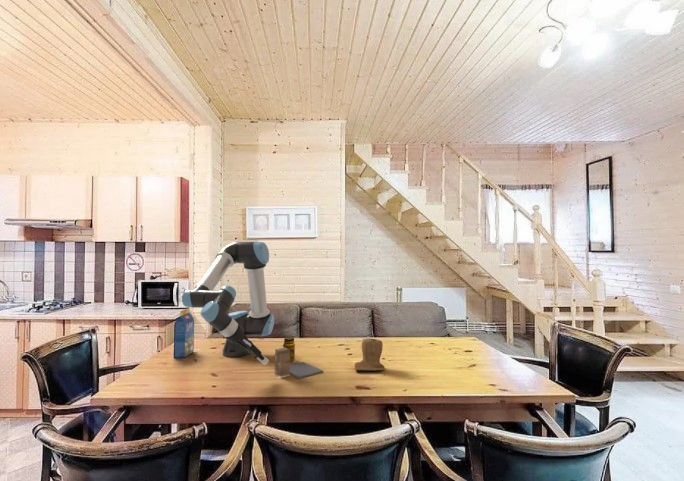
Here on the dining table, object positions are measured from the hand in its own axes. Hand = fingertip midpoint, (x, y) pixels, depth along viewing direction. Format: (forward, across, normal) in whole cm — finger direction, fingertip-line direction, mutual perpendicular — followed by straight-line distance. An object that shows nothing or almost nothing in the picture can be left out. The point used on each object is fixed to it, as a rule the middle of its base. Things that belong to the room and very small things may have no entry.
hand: (266, 362), depth 161 cm
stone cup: (+38, +19, +27) cm, 51 cm away
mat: (+19, 0, +8) cm, 20 cm away
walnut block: (+11, 0, 0) cm, 11 cm away
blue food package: (-7, -62, -18) cm, 65 cm away
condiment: (+21, -17, +10) cm, 28 cm away
